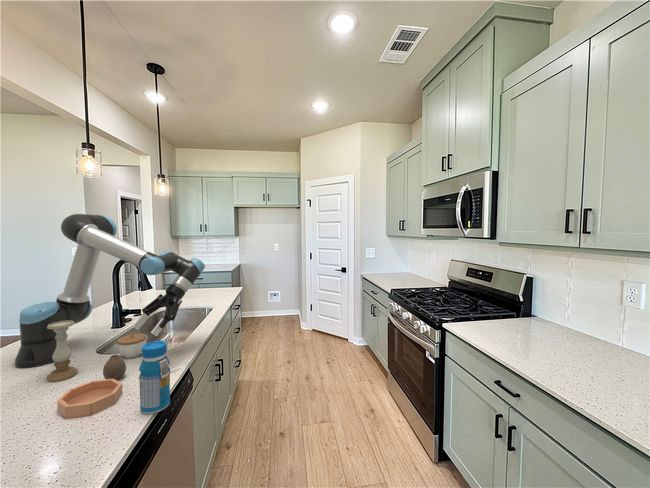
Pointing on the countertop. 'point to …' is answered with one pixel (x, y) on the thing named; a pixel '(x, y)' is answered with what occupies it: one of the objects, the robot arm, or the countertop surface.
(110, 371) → the vase
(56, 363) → the candle holder
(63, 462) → the countertop surface
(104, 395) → the terracotta dish
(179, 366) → the fork
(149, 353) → the beverage bottle
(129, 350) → the lidded jar
